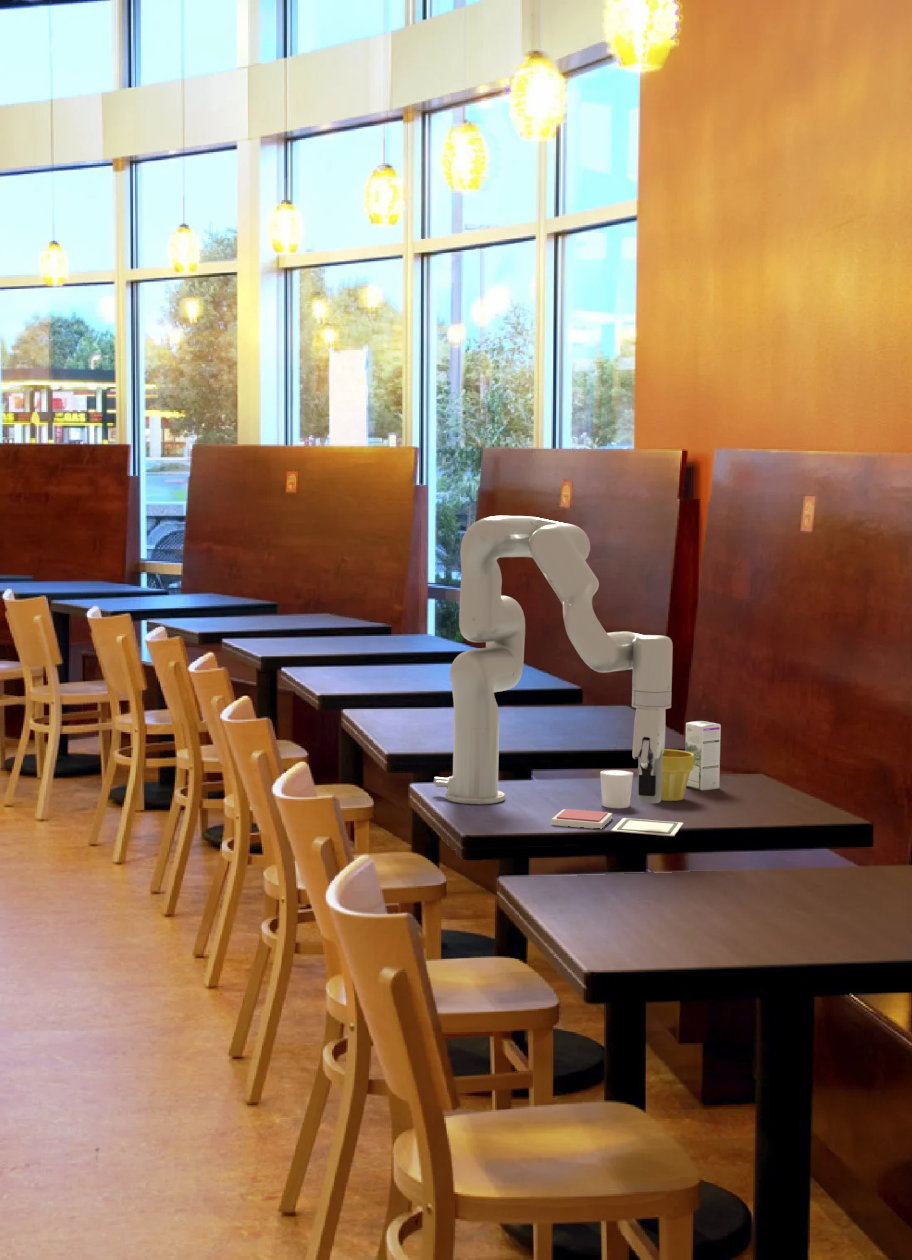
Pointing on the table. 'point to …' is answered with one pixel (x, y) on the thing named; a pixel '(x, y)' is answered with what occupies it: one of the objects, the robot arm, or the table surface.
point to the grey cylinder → (658, 782)
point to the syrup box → (704, 754)
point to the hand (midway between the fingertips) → (649, 792)
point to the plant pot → (675, 773)
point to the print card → (647, 827)
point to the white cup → (616, 788)
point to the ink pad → (581, 818)
